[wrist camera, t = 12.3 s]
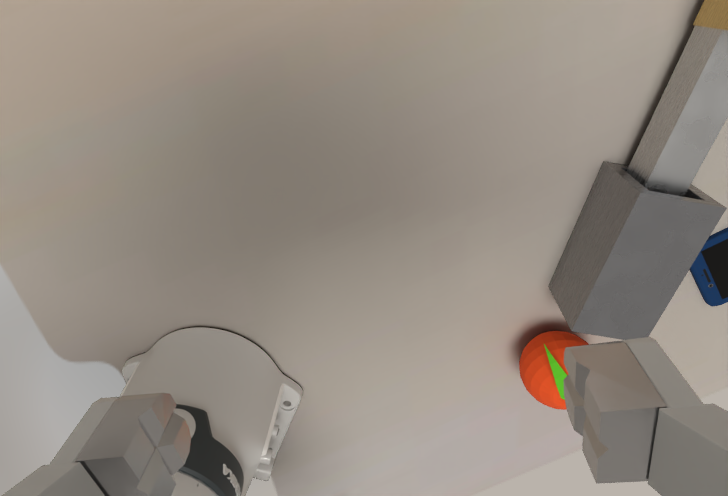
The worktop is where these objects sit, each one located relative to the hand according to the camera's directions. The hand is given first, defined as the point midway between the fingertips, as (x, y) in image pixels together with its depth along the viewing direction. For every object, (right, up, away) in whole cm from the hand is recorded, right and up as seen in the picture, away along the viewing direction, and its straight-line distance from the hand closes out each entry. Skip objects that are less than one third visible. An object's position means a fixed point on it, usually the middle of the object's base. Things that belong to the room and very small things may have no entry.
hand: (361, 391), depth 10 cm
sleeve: (+21, +4, +30) cm, 37 cm away
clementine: (+18, -6, +36) cm, 41 cm away
